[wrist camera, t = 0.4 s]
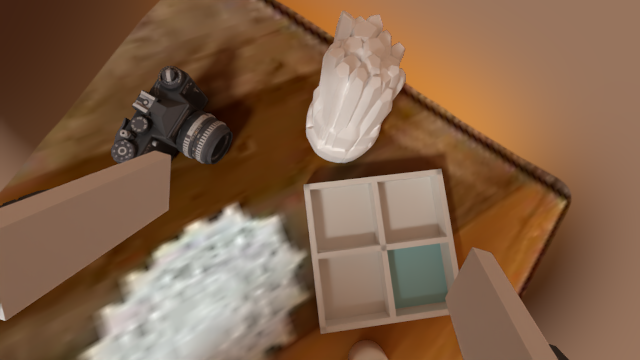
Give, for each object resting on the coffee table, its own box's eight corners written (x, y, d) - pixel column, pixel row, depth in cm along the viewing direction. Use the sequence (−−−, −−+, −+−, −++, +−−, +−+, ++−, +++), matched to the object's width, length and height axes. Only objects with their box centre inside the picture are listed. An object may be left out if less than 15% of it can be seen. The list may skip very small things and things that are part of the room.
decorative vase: (342, 84, 48) (383, -55, 23) (387, 132, 48) (477, 43, 23) (291, 127, 47) (278, 28, 22) (337, 177, 46) (375, 133, 22)
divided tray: (453, 304, 45) (465, 312, 42) (319, 324, 44) (320, 333, 40) (431, 172, 47) (441, 168, 44) (303, 186, 46) (303, 184, 42)
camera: (202, 199, 45) (173, 194, 35) (138, 165, 45) (92, 151, 35) (248, 119, 47) (233, 93, 37) (187, 87, 47) (156, 52, 37)
